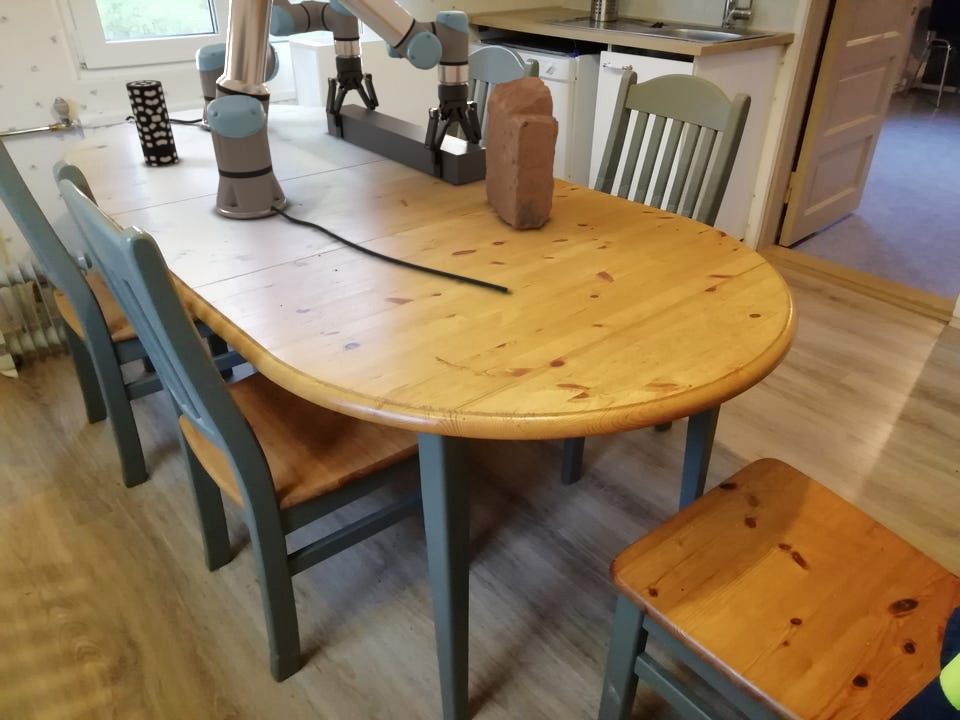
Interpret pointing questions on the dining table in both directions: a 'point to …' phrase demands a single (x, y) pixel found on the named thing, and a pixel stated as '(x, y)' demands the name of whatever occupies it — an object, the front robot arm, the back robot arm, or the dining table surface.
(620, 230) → the dining table surface
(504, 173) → the stone
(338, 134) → the back robot arm
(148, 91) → the black white spotted cylinder
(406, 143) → the wide beam
